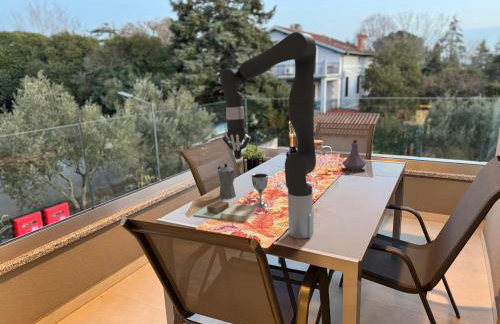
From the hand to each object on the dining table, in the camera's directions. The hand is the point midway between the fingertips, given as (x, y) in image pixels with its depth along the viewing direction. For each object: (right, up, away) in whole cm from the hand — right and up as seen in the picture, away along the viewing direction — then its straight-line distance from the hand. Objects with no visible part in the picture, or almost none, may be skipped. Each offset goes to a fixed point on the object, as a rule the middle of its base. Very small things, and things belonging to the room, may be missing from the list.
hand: (238, 158), depth 143 cm
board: (0, -26, +13) cm, 29 cm away
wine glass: (+10, -23, +24) cm, 35 cm away
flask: (+75, -6, +83) cm, 112 cm away
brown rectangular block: (-10, -23, +17) cm, 31 cm away
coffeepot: (-8, -20, +40) cm, 46 cm away
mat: (-12, -25, +18) cm, 33 cm away
